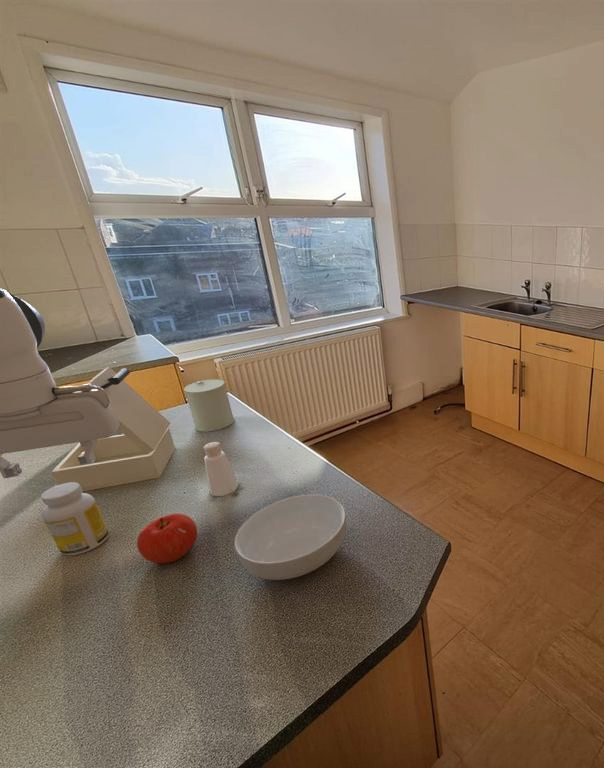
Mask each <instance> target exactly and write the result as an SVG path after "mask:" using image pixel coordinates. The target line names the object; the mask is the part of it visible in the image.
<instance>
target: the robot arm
mask: <svg viewBox="0 0 604 768" xmlns="http://www.w3.org/2000/svg"><path fill="white" fill-rule="evenodd" d="M45 334H46V322H45V320H44V318H43V316H42V314H41V313H40V312H39V311H38V310H37V309H36V308H35V307H34V306H32V305H31V304H30V303H28V302H27V301H25V300H24V299H22V298H20V297H18V296H16V295H14V294H12V293H10V292H8V291H7V290H6V289H4V288H2V287H0V474H1V476H2V477H3V479H9V478H14V477H19V475H21V474H22V472H23V470H22V468H21V467H20V463H19V462H18V461H17V462H11V461H9V460H7V459H6V458H4V457H2V456H3V455H5V454H10V453H11V454H12V453H17V452H24V451H30V450H31V451H32V450H37V449H44V448H49V447H56V446H63V445H64V446H65V445H70V444H76V443H77V444H78V443H79V442H80V445H81V447H85V446H86V449H85V452H81V453H80V455H79V456H78V457H77V458H78V460H79V461H80V465H86V464H92V463H94V462H95V460H96V457H95V455H94V452H93V450H94V448H95V445H96V443H97V439H103V438H108V437H111V436H114V434H115V433H116V432H117V430H118V427H119V425H120V423H119V420H118V418H117V416H116V414H115V412H114V410H113V409H112V407H111V406H110V404H109V403H110V402H109V398H108V395H107V393H106V391H105V390H104V389H102V388H100V387H97V386H92V385H91V384H87V383H85V384H80V385H68V386H57V384H56V381H55V379H54V377H53V375H52V372H51V370H50V367H49V365H48V364H47V363H46V361H45V360H44V359H43V357H41V355H40V354H39V352H38V348H39V347H40V346H41V344H42V342H43V340H44V338H45ZM92 389H95V390H92Z"/></svg>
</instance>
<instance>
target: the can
mask: <svg viewBox="0 0 604 768" xmlns="http://www.w3.org/2000/svg"><path fill="white" fill-rule="evenodd" d="M183 391H184V395H185V397H186V401H187V403H188V407H189V409H190V414H191V417H192V420H193V424H194V429H195V430H196V431H198V432H202V433H203V432H204V433H205V432H214V431H218V430H222V429H225V428H227V427H229V426H231V425H232V424H234V422H235V417H234V414H233V410H232V408H231V403H230V400H229V395H228V392H227V391H228V390H227V388H226V382H225V380H223V379H219V378H209V379H203V380H198V381H195V382H192V383H189V384H187V385H186V386H184V387H183Z"/></svg>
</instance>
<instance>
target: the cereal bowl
mask: <svg viewBox="0 0 604 768" xmlns="http://www.w3.org/2000/svg"><path fill="white" fill-rule="evenodd" d="M347 522H348V521H347V514H346V509H345V507H344V506H343V505H342V503H341V502H339V501H338V500H337V499H335V498H333V497H330V496H328V495H323V494H302V495H295V496H290V497H286V498H283V499H281V500H277V501H275V502H273V503H271V504H269V505H266V506H265V507H263V508H260V509H259V510H258V511H256V512H255V513H254V514H252V515H251V516H250V517H249V518H248V519H246V521H245V522H243V524H242V525H241V526H240V528H239V529H238V530H237V532H236V535H235V539H234V550H235V553H236V556H237V559H238V560H239V563H240V564H241V566H242V567H243V568H244V569H245V570H246V571H247V572H248V573H250V574H251V575H254V576H255V577H258V578H261V579H264V580H271V581H284V580H291V579H295V578H299V577H302V576H304V575H307V574H310V573H312V572H313V571H315V570H317V569H319V568H320V567H321V566H324V564H326V563H327V562H328V561H330V560H331V558H333V557H334V555H336V553H337V552H338V551H339V549H340V547H341V545H342V544H343V542H344V539H345V536H346V533H347V532H346V531H347V526H348V525H347Z"/></svg>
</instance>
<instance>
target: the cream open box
mask: <svg viewBox="0 0 604 768" xmlns="http://www.w3.org/2000/svg"><path fill="white" fill-rule="evenodd" d="M85 449H86V446H85V447H81V445H80V442H77V444H76V445H75V446H74V447H73V448H72V449H71V450H70V451H69V453H68V454H67V455H66V456H65V457H64V458H63V459H61V461H60V462H59V463H58V464H57V465H56V466H55V467H54V468H53V469H52V471H51V474H52V477H53V479H54V482H55V483H56V486H57V485H60V484H64V483H70V482H75V483H78V484H79V485H80V487H81V489H82V493H84V492H89V491H93V490H99V489H104V488H111V487H115V486H121V485H122V486H123V485H127V484H131V483H138V482H143V481H148V480H154V479H160V478H161V476H162V474H163V472H164V470H165V469H166V467H167V465H168V463H169V462H170V459H171V457H172V456H173V453H175V452H174V451H175V450H176V446H175V442H174V439H173V437H172V434H171V430H170V427H168V428H167V430H166V431H165V433H164V435H163V436H162V438H161V440H160V441H159V443H158V444H157V446H156V448H155V449H154V451H152V452H150V453H148V454H147V453H146V452H145V451H143V450H142V449H141V448H140V447H139V446H137V445H136V444H135V443H134V442H133V441H131V440H130V439H129V438H128V437H127V436H125V435H124V434H123V433H122V434H116V435H112V436H111V437H108V438H103V439H97V443H96V445H95V448H94V450H93V452H94V455H95V457H96V460H95V462H94V463H92V464H86V465H80V461H79V460H78V458H77V457H78V456H79V455H80V453H81V452H85Z"/></svg>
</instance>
